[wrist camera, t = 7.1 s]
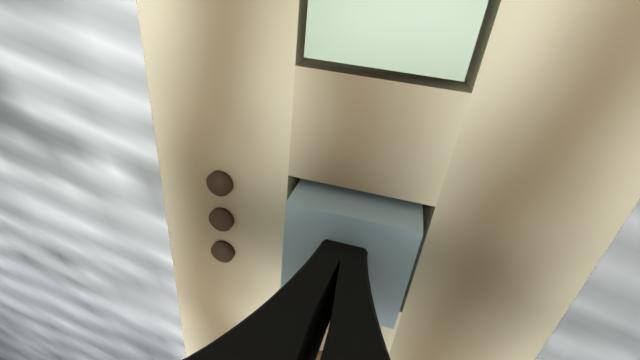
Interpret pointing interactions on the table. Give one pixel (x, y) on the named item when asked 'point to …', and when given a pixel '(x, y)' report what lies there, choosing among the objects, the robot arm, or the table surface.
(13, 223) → the table surface
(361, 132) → the button panel
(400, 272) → the pale blue square block
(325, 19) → the one dot button
